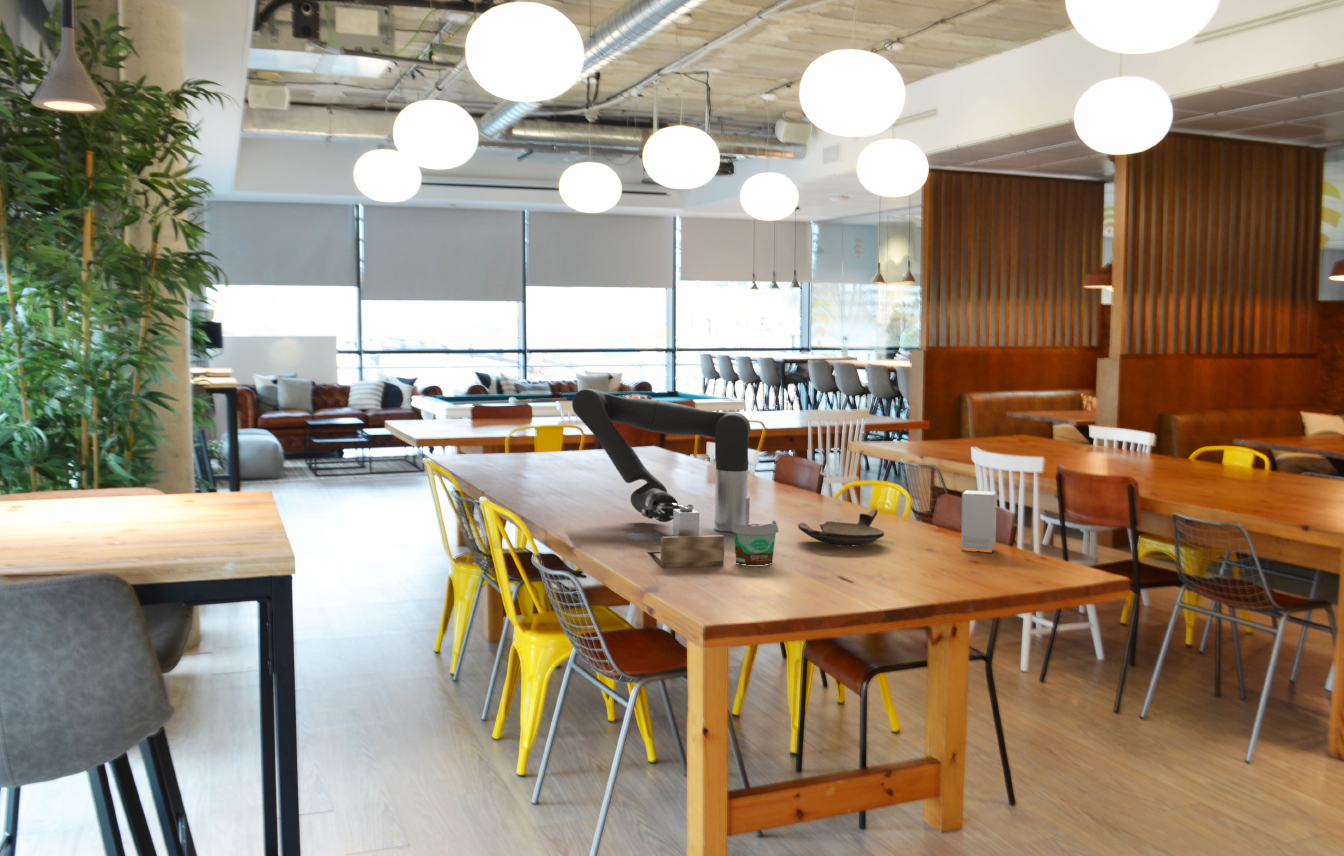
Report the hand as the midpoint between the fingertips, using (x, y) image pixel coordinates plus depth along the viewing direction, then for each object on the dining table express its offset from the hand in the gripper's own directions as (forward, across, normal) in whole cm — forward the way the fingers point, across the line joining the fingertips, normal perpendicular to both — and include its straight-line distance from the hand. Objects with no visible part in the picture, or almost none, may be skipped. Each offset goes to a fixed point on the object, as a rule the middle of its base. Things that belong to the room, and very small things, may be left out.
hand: (675, 516), depth 268 cm
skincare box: (+11, +80, +9) cm, 81 cm away
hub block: (+11, 0, +8) cm, 14 cm away
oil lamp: (-2, +48, +9) cm, 49 cm away
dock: (+10, 0, +9) cm, 13 cm away
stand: (-12, -6, +9) cm, 16 cm away
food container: (+19, +16, +9) cm, 27 cm away
